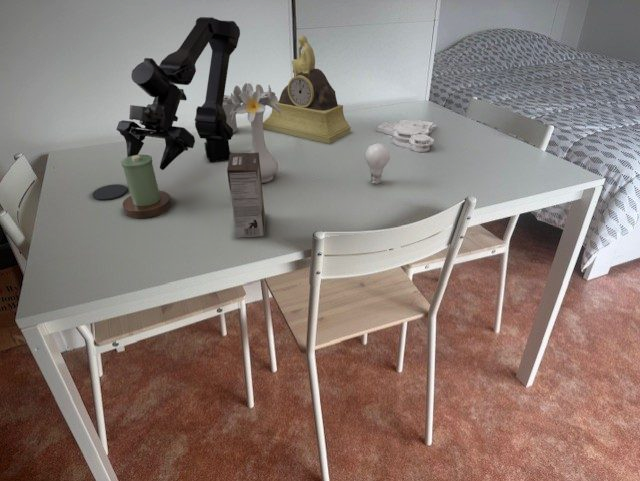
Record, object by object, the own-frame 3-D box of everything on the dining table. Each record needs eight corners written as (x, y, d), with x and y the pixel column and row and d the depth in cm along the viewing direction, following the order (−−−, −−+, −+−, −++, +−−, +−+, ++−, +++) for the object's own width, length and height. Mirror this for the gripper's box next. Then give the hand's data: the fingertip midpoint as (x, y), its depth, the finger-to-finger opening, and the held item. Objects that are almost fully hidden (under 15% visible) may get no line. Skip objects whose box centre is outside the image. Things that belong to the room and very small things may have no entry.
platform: (169, 194, 116) (168, 187, 115) (173, 213, 108) (171, 206, 106) (124, 201, 113) (122, 194, 112) (124, 222, 104) (122, 214, 103)
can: (232, 136, 152) (228, 100, 146) (212, 135, 153) (206, 99, 147) (240, 129, 158) (236, 94, 152) (220, 127, 160) (215, 93, 153)
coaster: (127, 183, 122) (127, 182, 122) (127, 197, 115) (127, 195, 115) (93, 188, 120) (93, 187, 119) (91, 202, 113) (91, 201, 113)
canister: (160, 192, 113) (150, 149, 107) (161, 203, 108) (151, 159, 102) (131, 196, 111) (120, 153, 105) (132, 208, 106) (120, 164, 100)
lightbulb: (372, 190, 116) (374, 150, 110) (359, 181, 121) (360, 142, 115) (392, 185, 119) (395, 145, 113) (379, 176, 123) (381, 138, 117)
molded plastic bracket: (454, 130, 154) (456, 117, 151) (427, 154, 136) (428, 140, 134) (392, 120, 164) (393, 107, 162) (360, 141, 146) (360, 127, 144)
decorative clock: (262, 128, 158) (255, 35, 142) (285, 118, 167) (280, 30, 151) (329, 144, 145) (329, 43, 128) (350, 132, 154) (352, 37, 137)
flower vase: (269, 161, 133) (262, 73, 120) (294, 185, 119) (290, 89, 106) (227, 170, 128) (214, 79, 115) (248, 196, 115) (236, 96, 101)
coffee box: (238, 217, 105) (229, 152, 97) (265, 216, 106) (259, 151, 97) (235, 238, 98) (225, 169, 89) (264, 236, 98) (258, 168, 89)
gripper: (111, 86, 105) (89, 147, 102) (179, 92, 99) (157, 157, 97) (141, 110, 115) (122, 166, 112) (204, 117, 110) (185, 176, 107)
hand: (145, 166), depth 107 cm, fingers open, 9 cm apart
